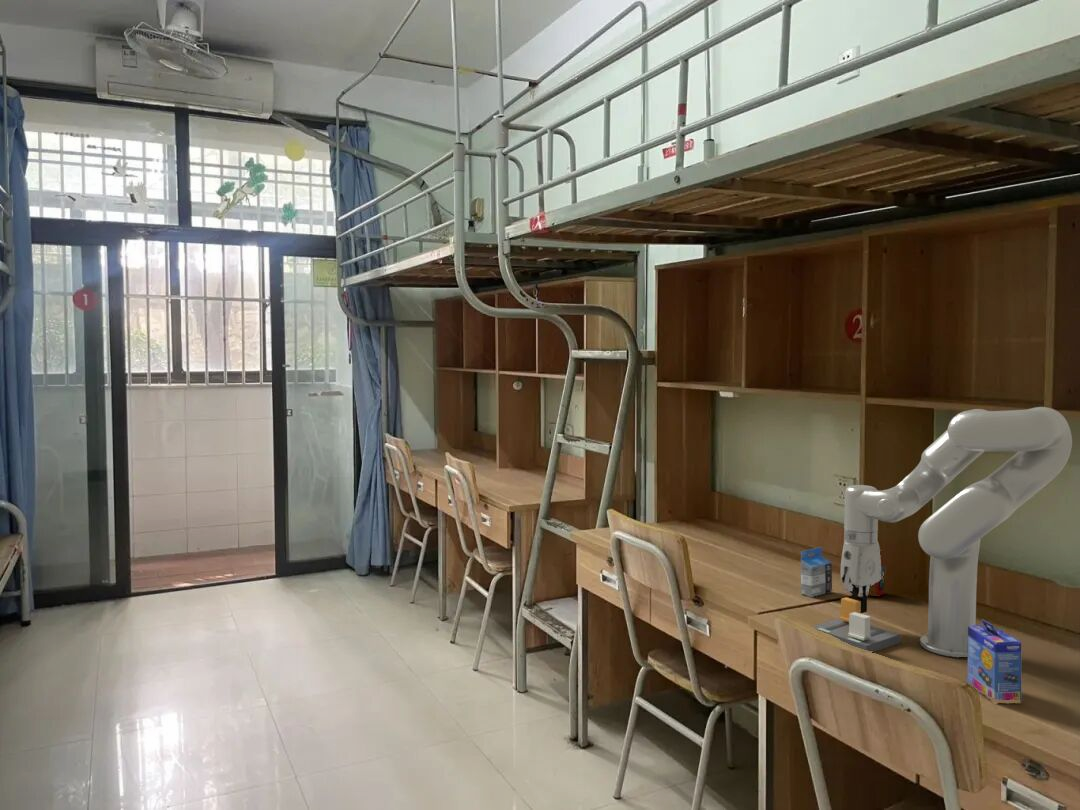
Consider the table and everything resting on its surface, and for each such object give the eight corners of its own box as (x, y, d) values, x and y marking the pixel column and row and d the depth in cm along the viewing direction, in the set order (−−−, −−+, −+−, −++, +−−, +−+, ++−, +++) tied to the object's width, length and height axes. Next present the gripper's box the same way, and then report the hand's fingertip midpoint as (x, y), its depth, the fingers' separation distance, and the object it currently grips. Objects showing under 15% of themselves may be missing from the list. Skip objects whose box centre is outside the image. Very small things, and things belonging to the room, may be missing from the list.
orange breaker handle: (861, 621, 193) (861, 601, 193) (854, 623, 192) (854, 603, 191) (846, 617, 197) (847, 597, 196) (839, 619, 195) (840, 599, 195)
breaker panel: (900, 642, 186) (900, 633, 186) (866, 654, 179) (866, 645, 179) (844, 624, 199) (844, 616, 198) (809, 635, 191) (810, 626, 191)
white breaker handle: (871, 638, 182) (871, 616, 182) (863, 640, 181) (863, 618, 180) (855, 632, 185) (855, 611, 185) (847, 635, 184) (848, 613, 184)
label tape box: (812, 598, 220) (812, 553, 220) (799, 594, 224) (800, 550, 223) (832, 592, 225) (833, 549, 224) (820, 589, 229) (820, 546, 228)
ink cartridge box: (964, 684, 163) (966, 613, 162) (991, 683, 163) (993, 613, 162) (993, 705, 153) (996, 630, 152) (1022, 704, 153) (1024, 629, 152)
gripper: (854, 543, 188) (853, 621, 189) (893, 535, 196) (891, 609, 197) (827, 537, 194) (826, 612, 195) (866, 530, 202) (864, 602, 203)
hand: (859, 611), depth 196 cm, fingers closed
